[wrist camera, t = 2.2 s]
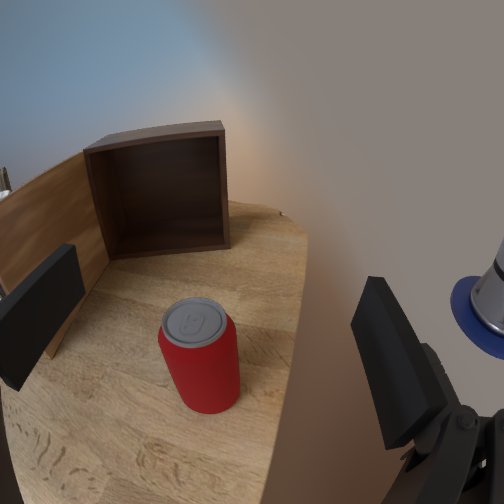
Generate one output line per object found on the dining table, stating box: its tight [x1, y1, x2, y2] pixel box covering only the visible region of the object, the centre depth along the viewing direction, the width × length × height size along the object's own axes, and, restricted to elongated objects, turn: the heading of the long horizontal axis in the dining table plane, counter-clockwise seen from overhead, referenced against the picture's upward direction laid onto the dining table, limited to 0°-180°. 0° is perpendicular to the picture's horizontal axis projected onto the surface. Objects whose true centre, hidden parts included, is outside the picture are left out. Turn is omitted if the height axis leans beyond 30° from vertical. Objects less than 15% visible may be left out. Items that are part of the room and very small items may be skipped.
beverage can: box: [158, 297, 240, 414], centre depth 25 cm, size 7×7×12 cm
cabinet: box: [83, 120, 230, 260], centre depth 52 cm, size 14×24×22 cm, turn 99°
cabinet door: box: [0, 151, 110, 359], centre depth 34 cm, size 6×24×22 cm, turn 179°
